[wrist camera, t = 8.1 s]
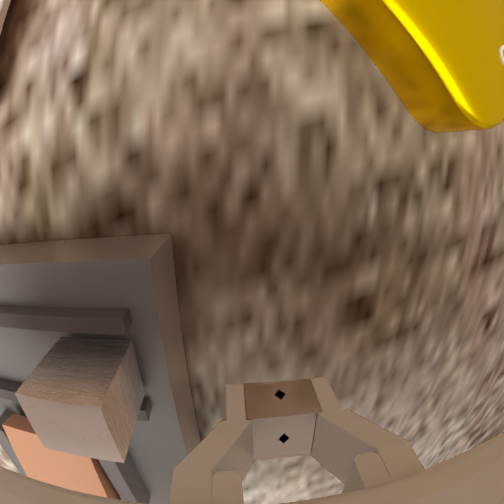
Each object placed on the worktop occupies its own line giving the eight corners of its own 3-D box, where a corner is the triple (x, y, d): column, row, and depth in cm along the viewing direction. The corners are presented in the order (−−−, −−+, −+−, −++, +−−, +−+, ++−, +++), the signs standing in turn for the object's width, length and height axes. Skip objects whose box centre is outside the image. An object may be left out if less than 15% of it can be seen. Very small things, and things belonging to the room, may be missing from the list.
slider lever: (145, 392, 11) (124, 462, 7) (77, 387, 11) (44, 447, 7) (132, 340, 10) (100, 407, 7) (60, 337, 10) (14, 393, 6)
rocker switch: (131, 519, 12) (126, 533, 11) (57, 502, 11) (50, 514, 10) (94, 430, 11) (85, 445, 10) (13, 413, 11) (2, 424, 10)
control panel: (215, 505, 19) (216, 560, 14) (72, 488, 18) (57, 533, 13) (171, 233, 14) (137, 274, 8) (-31, 247, 13) (-94, 277, 7)
